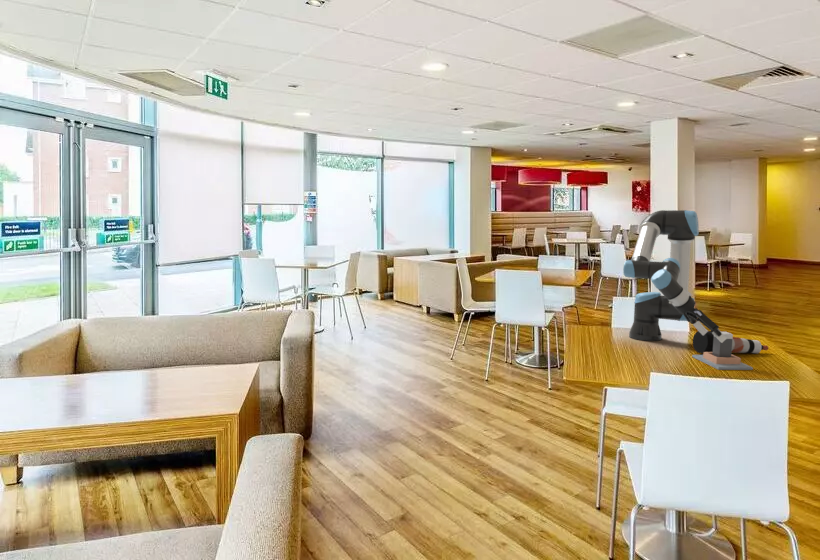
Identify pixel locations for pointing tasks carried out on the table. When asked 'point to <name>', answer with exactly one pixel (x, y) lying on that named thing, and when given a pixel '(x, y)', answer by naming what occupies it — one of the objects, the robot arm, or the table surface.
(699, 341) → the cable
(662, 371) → the table surface
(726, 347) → the plug
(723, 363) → the dock
